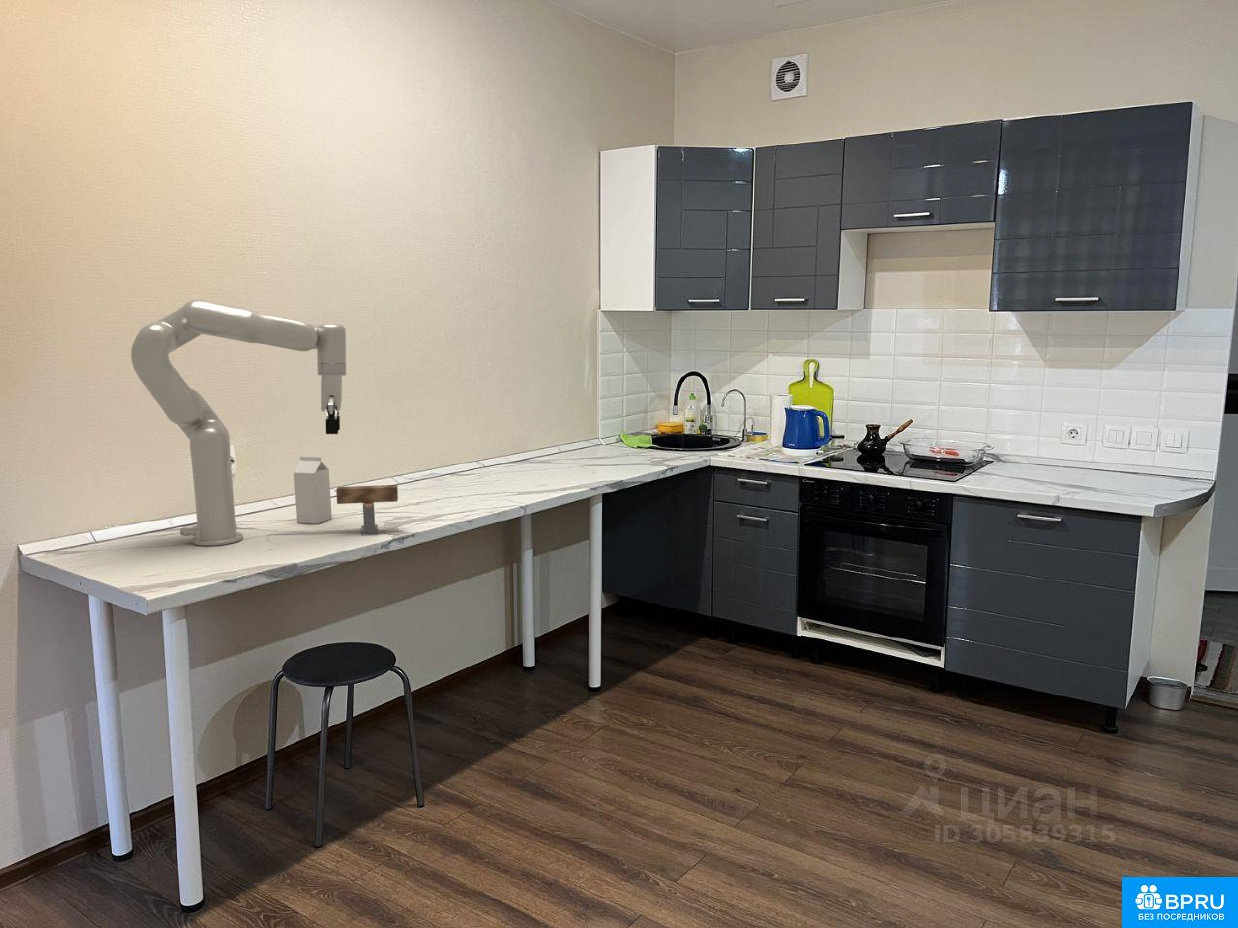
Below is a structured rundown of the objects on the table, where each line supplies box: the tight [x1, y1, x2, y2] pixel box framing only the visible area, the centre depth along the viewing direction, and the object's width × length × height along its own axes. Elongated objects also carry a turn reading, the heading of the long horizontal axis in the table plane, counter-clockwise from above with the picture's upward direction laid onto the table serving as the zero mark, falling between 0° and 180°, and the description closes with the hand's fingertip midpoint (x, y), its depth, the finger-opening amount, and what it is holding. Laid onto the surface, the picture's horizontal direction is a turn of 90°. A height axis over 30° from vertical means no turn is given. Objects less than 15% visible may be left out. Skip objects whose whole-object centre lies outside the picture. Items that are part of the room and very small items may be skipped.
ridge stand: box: [361, 502, 379, 536], centre depth 262 cm, size 4×7×9 cm, turn 15°
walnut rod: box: [335, 484, 399, 505], centre depth 261 cm, size 16×4×4 cm, turn 99°
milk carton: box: [293, 456, 333, 525], centre depth 276 cm, size 7×7×19 cm
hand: (333, 432), depth 261 cm, fingers open, 9 cm apart
